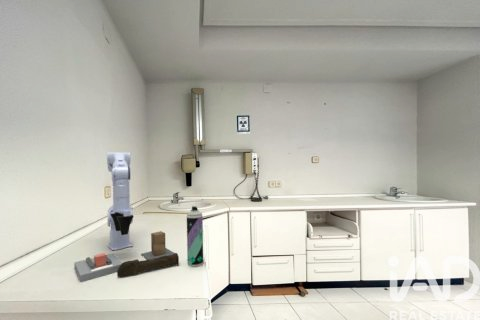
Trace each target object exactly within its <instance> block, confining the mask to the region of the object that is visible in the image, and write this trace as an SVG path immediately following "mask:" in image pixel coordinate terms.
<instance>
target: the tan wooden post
mask: <svg viewBox="0 0 480 320" xmlns="http://www.w3.org/2000/svg"><path fill="white" fill-rule="evenodd" d="M150 239H151V240H150V242H151V245H150V247H151V249H150V250H151V254H152V255H154V256H159V255H163V254H166V248H167V247H166V232H163V231H162V230H161V231H156V232H151V233H150Z"/></svg>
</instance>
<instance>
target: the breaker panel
mask: <svg viewBox="0 0 480 320" xmlns="http://www.w3.org/2000/svg"><path fill="white" fill-rule="evenodd" d="M122 263H123V262H122V260H120V259H119V258H118V257H117V256H116V255H115V254H114V252H113V253H112V252H111V253H107V254H106V265H103V266H99V267H95V265H94V257H90V256H89V257H85V259H83V260H78V261H75V262H74V264H73V265H74V271H75V273H76V275H77V277H78V280H79V282H80V283H83V282H87V281H90V280H93V279H97V278H100V277H103V276H107V275H110V274H115V273H117V272H118V269H119V267H120V265H121V264H122Z"/></svg>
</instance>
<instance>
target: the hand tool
mask: <svg viewBox="0 0 480 320" xmlns="http://www.w3.org/2000/svg"><path fill="white" fill-rule="evenodd" d="M174 253H175V254H173V255H168V256H162V257H159V258H154V259H149V260H147V259H143V260H139V259H133V260H127V261H124V262H122V264H121V265H120V267H119V269H118V272H116V273H117V278H126V277H131V276H132V277H133V276H137V275H139V274H140V273H143V272H147V271H151V270H152V271H153V270H157V269H161V268H165V267H171V266H174V265H175V266H179V264H180V260H179V258H180V257H179V254H178V252H174Z"/></svg>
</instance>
